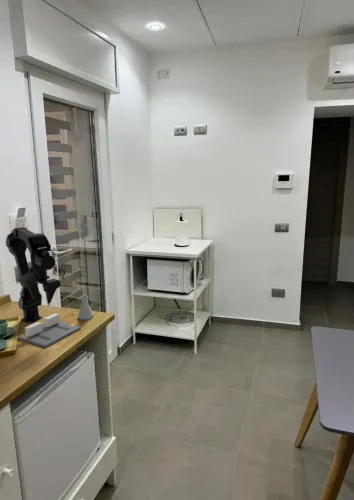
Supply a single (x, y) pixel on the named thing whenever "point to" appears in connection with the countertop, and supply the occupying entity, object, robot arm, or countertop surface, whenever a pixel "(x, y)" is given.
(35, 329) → the slider
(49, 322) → the slider
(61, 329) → the switch panel
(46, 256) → the robot arm
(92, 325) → the countertop surface
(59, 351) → the countertop surface
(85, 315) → the flask
